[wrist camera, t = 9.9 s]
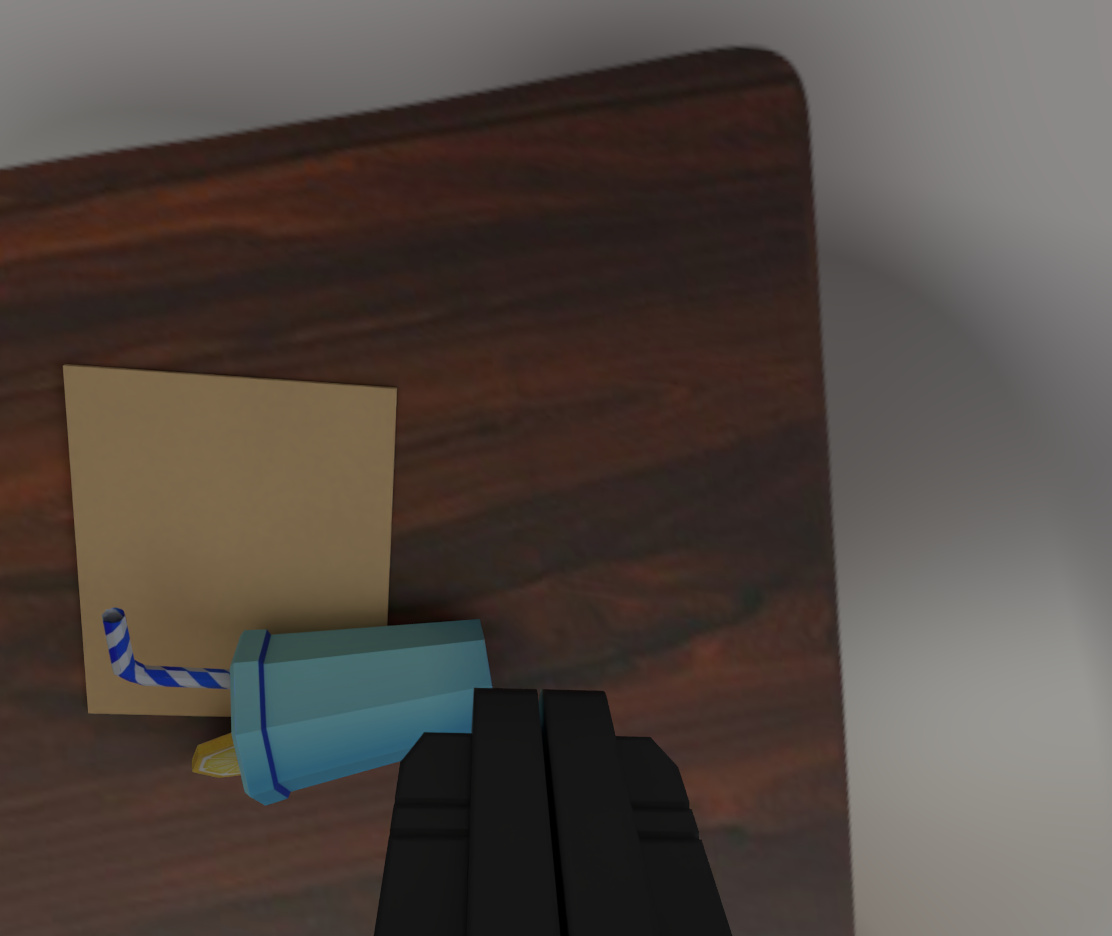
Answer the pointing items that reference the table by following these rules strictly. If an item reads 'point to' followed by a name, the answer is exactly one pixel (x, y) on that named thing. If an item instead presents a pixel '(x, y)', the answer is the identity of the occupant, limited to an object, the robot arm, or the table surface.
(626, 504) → the table surface
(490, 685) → the cup
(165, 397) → the cork mat
